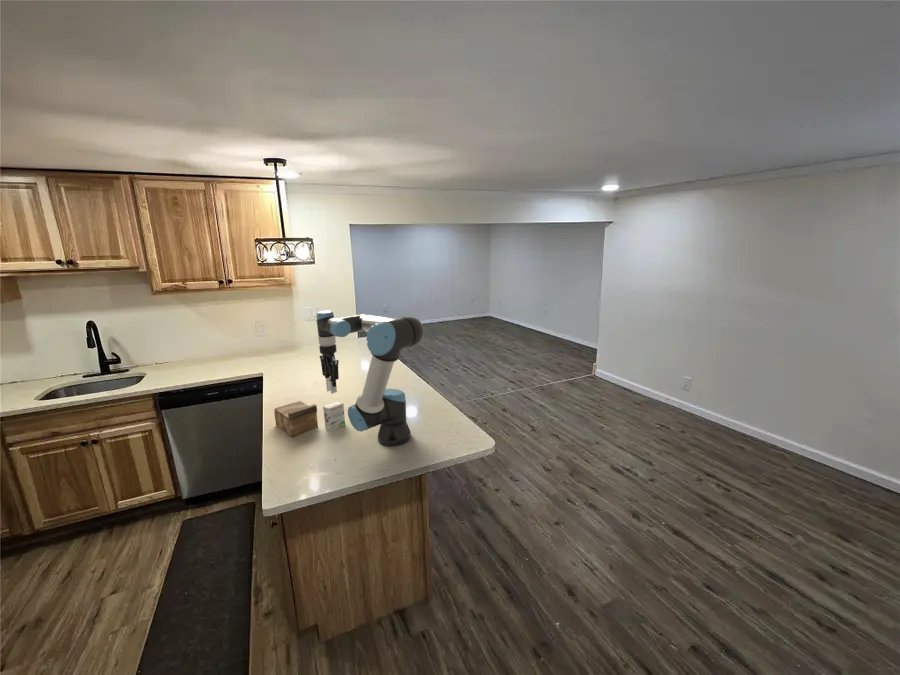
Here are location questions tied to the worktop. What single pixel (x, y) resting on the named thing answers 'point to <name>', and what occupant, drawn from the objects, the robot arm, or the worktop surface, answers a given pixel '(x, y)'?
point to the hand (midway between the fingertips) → (331, 391)
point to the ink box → (334, 415)
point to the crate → (296, 424)
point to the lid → (296, 410)
